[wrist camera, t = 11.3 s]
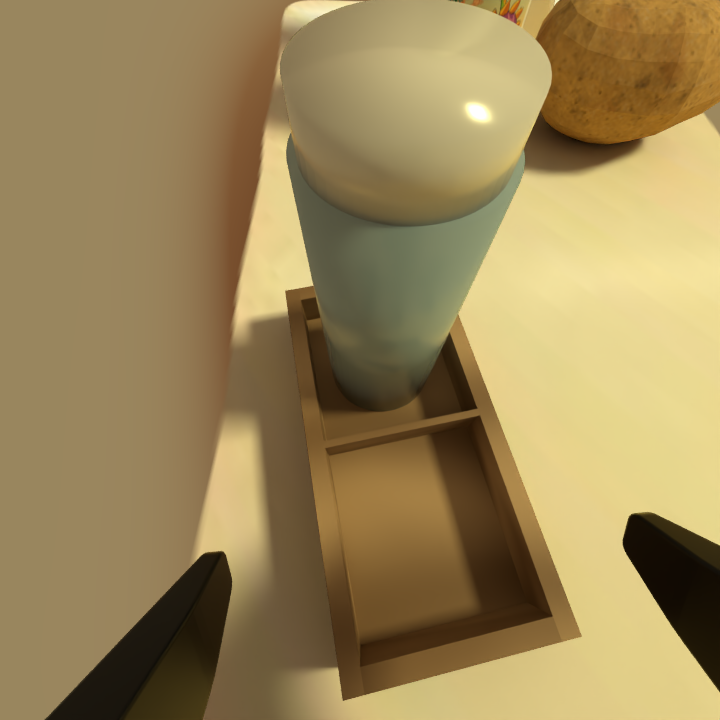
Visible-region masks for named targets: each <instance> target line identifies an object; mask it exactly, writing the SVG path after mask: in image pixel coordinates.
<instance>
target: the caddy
mask: <svg viewBox="0 0 720 720" xmlns="http://www.w3.org/2000/svg"><path fill="white" fill-rule="evenodd" d="M285 293H286V300H287V307H288V314H289V321H290V328H291V335H292V342H293V350H294V357H295V364H296V371H297V378H298V385H299V392H300V399H301V406H302V413H303V421H304V428H305V435H306V442H307V449H308V456H309V463H310V470H311V477H312V485H313V492H314V499H315V506H316V513H317V520H318V527H319V534H320V541H321V549H322V556H323V563H324V570H325V577H326V584H327V591H328V598H329V605H330V612H331V620H332V627H333V634H334V641H335V648H336V655H337V662H338V669H339V676H340V684H341V691H342V698H343V701H344V700H348V699H351V698H355V697H359V696H362V695H366V694H370V693H374V692H377V691H381V690H385V689H388V688H392V687H396V686H400V685H403V684H407V683H411V682H414V681H418V680H422V679H426V678H429V677H433V676H437V675H440V674H444V673H448V672H451V671H455V670H459V669H463V668H466V667H470V666H474V665H477V664H481V663H485V662H489V661H492V660H496V659H500V658H503V657H507V656H511V655H515V654H518V653H522V652H526V651H529V650H533V649H537V648H541V647H544V646H548V645H552V644H555V643H559V642H563V641H567V640H570V639H574V638H578V637H581V633H580V631H579V628H578V625H577V623H576V620H575V618H574V615H573V612H572V610H571V607H570V604H569V602H568V599H567V597H566V594H565V591H564V589H563V586H562V584H561V581H560V578H559V576H558V573H557V571H556V568H555V565H554V563H553V560H552V558H551V555H550V552H549V550H548V547H547V545H546V542H545V539H544V537H543V534H542V532H541V529H540V526H539V524H538V521H537V519H536V516H535V513H534V511H533V508H532V506H531V503H530V500H529V498H528V495H527V492H526V490H525V487H524V485H523V482H522V479H521V477H520V474H519V472H518V469H517V466H516V464H515V461H514V459H513V456H512V453H511V451H510V448H509V446H508V443H507V440H506V438H505V435H504V433H503V430H502V427H501V425H500V422H499V420H498V417H497V414H496V412H495V409H494V407H493V404H492V401H491V399H490V396H489V393H488V391H487V388H486V386H485V383H484V380H483V378H482V375H481V373H480V370H479V367H478V365H477V362H476V360H475V357H474V354H473V352H472V349H471V347H470V344H469V341H468V339H467V336H466V334H465V331H464V328H463V326H462V323H461V321H460V318H459V315H457V317H456V319H455V322H454V324H453V326H452V328H451V330H450V332H449V334H448V336H447V339H446V341H445V343H444V345H443V347H442V349H441V351H440V353H439V356H438V358H437V360H436V362H435V364H434V366H433V368H432V370H431V372H430V375H429V377H428V379H427V381H426V383H425V385H424V387H423V389H422V391H421V392H420V393H419V395H418V396H417V397H416V398H415V399H414V400H413V401H411V402H410V403H409V404H407V405H405V406H403V407H401V408H398V409H395V410H391V411H371V410H367V409H363V408H361V407H359V406H357V405H355V404H353V403H352V402H350V401H349V400H348V399H347V398H346V397H345V396H344V395H343V394H342V393H341V392H340V390H339V389H338V387H337V385H336V383H335V381H334V378H333V374H332V369H331V365H330V360H329V355H328V351H327V346H326V341H325V337H324V332H323V327H322V323H321V318H320V313H319V309H318V304H317V299H316V295H315V290H314V286H310V287H305V288H299V289H293V290H288V291H285Z"/></svg>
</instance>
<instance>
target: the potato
mask: <svg viewBox="0 0 720 720" xmlns="http://www.w3.org/2000/svg"><path fill="white" fill-rule="evenodd" d="M535 40H536V41H537V42H538V43H539V44H540V45H541V46H542V48H543V49H544V51H545V53H546V54H547V56H548V59H549V62H550V64H551V71H552V80H551V86H550V88H549V91H548V94H547V96H546V99H545V101H544V103H543V105H542V108H541V110H540V112H541V114H542V116H543V118H544V119H545V121H546V122H547V123H548V124H549V125H550V126H552V127H553V128H554V129H555V130H557V131H559V132H561V133H563V134H565V135H567V136H569V137H571V138H574V139H578V140H581V141H584V142H587V143H597V144H607V145H608V144H613V143H619V142H625V141H630V140H634V139H639V138H643V137H647V136H652V135H655V134H657V133H659V132H661V131H664V130H666V129H668V128H670V127H672V126H674V125H676V124H678V123H681V122H683V121H685V120H688V119H690V118H692V117H694V116H697V115H699V114H701V113H703V112H704V111H706V110H707V109H709V108H710V107H712V106H714V105H715V104H717V103H718V102H720V0H560V1H558V2H557V3H556V5H555V6H554V7H553V8H552V10H551V11H550V12H549V14H548V15H547V16H546V18H545V19H544V20H543V22H542V24H541V27H540V29H539V32H538V34H537V37H536V39H535Z"/></svg>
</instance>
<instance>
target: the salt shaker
mask: <svg viewBox="0 0 720 720" xmlns="http://www.w3.org/2000/svg"><path fill="white" fill-rule="evenodd" d="M280 75H281V80H282V86H283V91H284V96H285V102H286V107H287V112H288V118H289V123H290V128H291V134H290V136H289V139H288V143H287V149H286V156H287V164H288V169H289V174H290V178H291V183H292V188H293V192H294V197H295V202H296V206H297V211H298V216H299V220H300V225H301V230H302V234H303V239H304V243H305V248H306V253H307V257H308V262H309V267H310V271H311V276H312V281H313V285H314V290H315V295H316V299H317V304H318V309H319V313H320V318H321V323H322V327H323V332H324V337H325V341H326V346H327V351H328V355H329V360H330V365H331V369H332V374H333V378H334V381H335V383H336V385H337V387H338V389H339V390H340V392H341V393H342V394H343V395H344V396H345V397H346V398H347V399H348V400H349V401H350V402H352V403H353V404H355V405H357V406H359V407H361V408H363V409H367V410H371V411H391V410H395V409H398V408H401V407H403V406H405V405H407V404H409V403H410V402H411V401H413V400H414V399H415V398H416V397H417V396H418V395H419V393H420V392H421V391H422V389H423V387H424V385H425V383H426V381H427V379H428V377H429V375H430V372H431V370H432V368H433V366H434V364H435V362H436V360H437V358H438V356H439V353H440V351H441V349H442V347H443V345H444V343H445V341H446V339H447V336H448V334H449V332H450V330H451V328H452V326H453V324H454V322H455V319H456V317H457V315H458V313H459V311H460V309H461V307H462V305H463V302H464V300H465V298H466V296H467V294H468V292H469V290H470V288H471V286H472V283H473V281H474V279H475V277H476V275H477V273H478V271H479V269H480V266H481V264H482V262H483V260H484V258H485V256H486V254H487V252H488V249H489V247H490V245H491V243H492V241H493V239H494V237H495V235H496V232H497V230H498V228H499V226H500V224H501V222H502V220H503V218H504V215H505V213H506V211H507V209H508V207H509V205H510V203H511V201H512V199H513V196H514V194H515V192H516V190H517V188H518V186H519V184H520V181H521V178H522V176H523V173H524V166H525V154H524V147H525V144H526V142H527V140H528V137H529V135H530V133H531V131H532V128H533V126H534V124H535V121H536V119H537V117H538V115H539V112H540V110H541V108H542V105H543V103H544V101H545V99H546V96H547V94H548V91H549V88H550V86H551V80H552V71H551V64H550V62H549V59H548V56H547V54H546V53H545V51H544V49H543V48H542V46H541V45H540V44H539V43H538V42H537V41H536V40H535V38H534V37H533V36H531V35H530V34H529V33H528V32H527V31H525V30H524V29H523V28H521V27H520V26H518V25H517V24H515V23H514V22H512V21H510V20H508V19H506V18H504V17H502V16H500V15H498V14H495V13H493V12H490V11H488V10H485V9H482V8H479V7H476V6H472V5H468V4H464V3H460V2H454V1H449V0H370V1H365V2H360V3H355V4H352V5H348V6H344V7H341V8H339V9H336V10H333V11H330V12H328V13H326V14H324V15H322V16H320V17H318V18H316V19H314V20H313V21H311V22H309V23H308V24H307V25H305V26H304V27H303V28H301V29H300V30H299V31H298V32H297V33H296V34H295V35H294V36H293V37H292V38H291V40H290V41H289V42H288V44H287V45H286V47H285V49H284V51H283V54H282V57H281V62H280Z"/></svg>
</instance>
